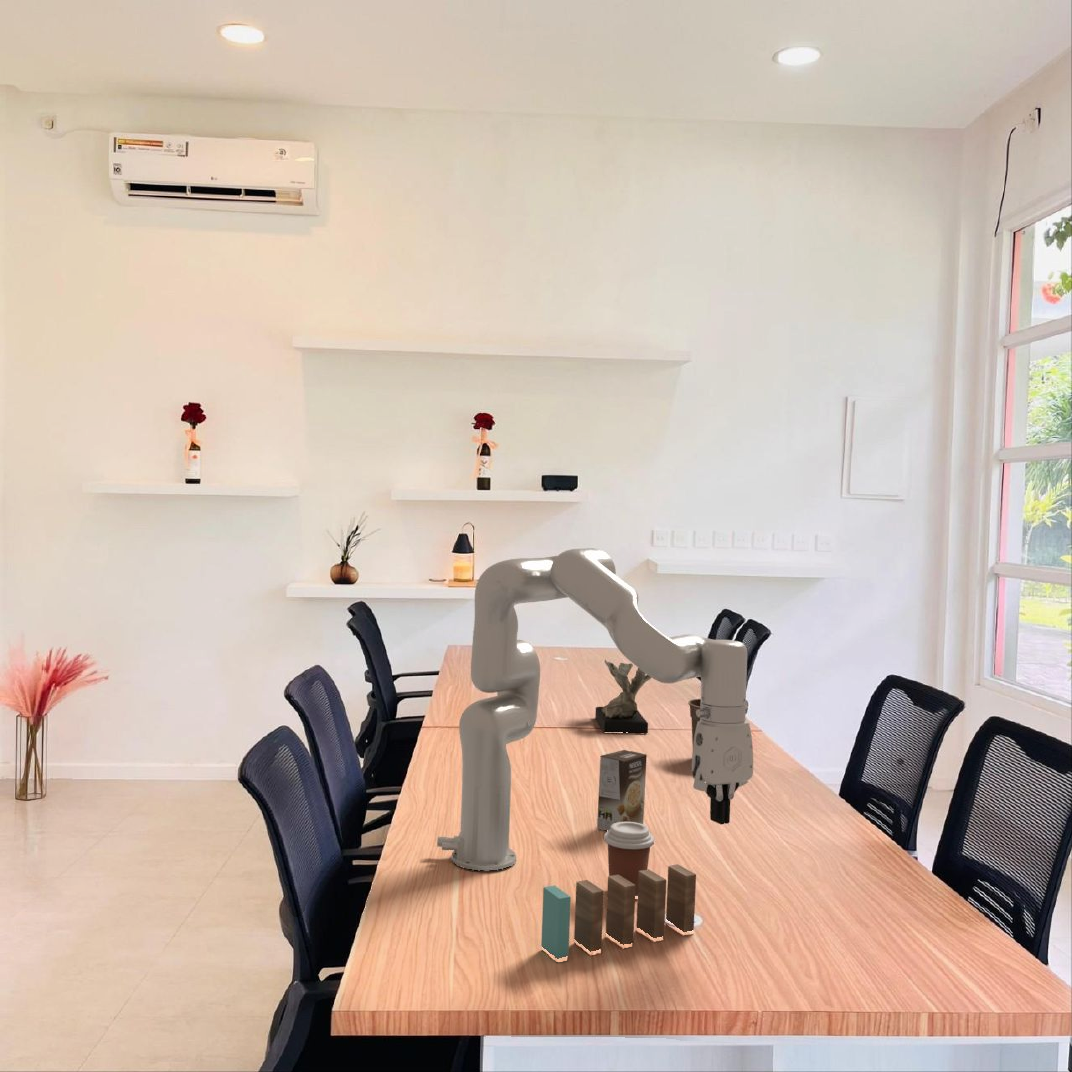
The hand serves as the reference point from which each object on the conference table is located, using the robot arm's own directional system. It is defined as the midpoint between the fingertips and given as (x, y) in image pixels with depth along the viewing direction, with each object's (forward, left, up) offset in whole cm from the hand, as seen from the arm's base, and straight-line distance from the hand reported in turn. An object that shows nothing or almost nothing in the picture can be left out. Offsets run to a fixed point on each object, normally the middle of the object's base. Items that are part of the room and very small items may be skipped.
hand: (719, 821), depth 173 cm
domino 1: (-22, -12, -17) cm, 31 cm away
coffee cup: (-14, +12, -18) cm, 25 cm away
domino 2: (-17, -9, -17) cm, 26 cm away
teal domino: (-27, -15, -17) cm, 36 cm away
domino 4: (-6, -3, -17) cm, 19 cm away
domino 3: (-12, -6, -17) cm, 22 cm away
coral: (-4, +153, -18) cm, 154 cm away
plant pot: (+17, +111, -18) cm, 113 cm away
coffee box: (-13, +49, -18) cm, 54 cm away
